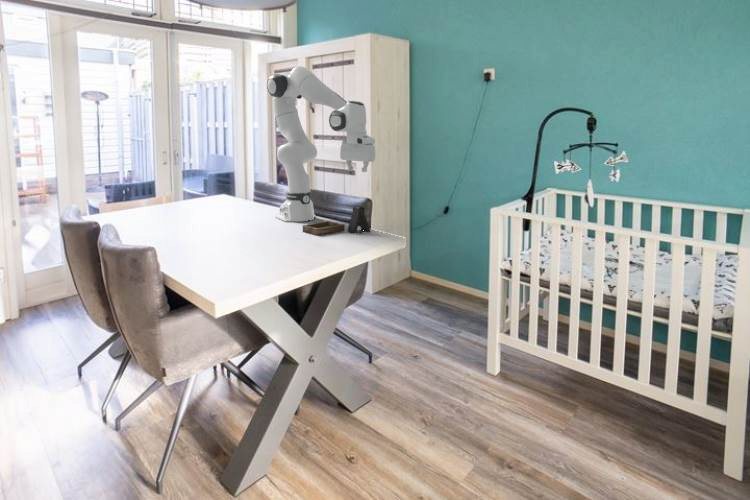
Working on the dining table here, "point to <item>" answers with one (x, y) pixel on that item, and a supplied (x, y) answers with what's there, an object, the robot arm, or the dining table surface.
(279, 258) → the dining table surface
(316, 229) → the walnut tray
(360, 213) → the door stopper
